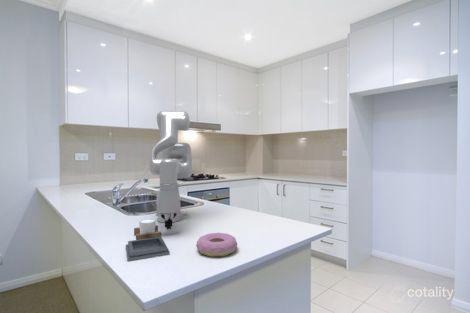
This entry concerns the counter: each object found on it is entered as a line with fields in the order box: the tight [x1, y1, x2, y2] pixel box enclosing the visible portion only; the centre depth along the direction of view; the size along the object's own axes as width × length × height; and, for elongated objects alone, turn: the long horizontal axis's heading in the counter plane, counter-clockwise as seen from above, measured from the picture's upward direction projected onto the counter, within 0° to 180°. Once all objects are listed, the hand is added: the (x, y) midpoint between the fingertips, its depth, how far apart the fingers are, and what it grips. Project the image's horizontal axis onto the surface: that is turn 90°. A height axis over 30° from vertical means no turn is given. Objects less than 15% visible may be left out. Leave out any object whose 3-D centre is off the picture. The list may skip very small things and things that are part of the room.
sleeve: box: [133, 224, 162, 240], centre depth 113 cm, size 10×11×3 cm
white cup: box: [138, 218, 157, 234], centre depth 113 cm, size 7×7×7 cm
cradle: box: [125, 236, 171, 262], centre depth 97 cm, size 14×14×2 cm
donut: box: [195, 232, 238, 258], centre depth 98 cm, size 16×15×5 cm
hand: (168, 228), depth 116 cm, fingers closed
